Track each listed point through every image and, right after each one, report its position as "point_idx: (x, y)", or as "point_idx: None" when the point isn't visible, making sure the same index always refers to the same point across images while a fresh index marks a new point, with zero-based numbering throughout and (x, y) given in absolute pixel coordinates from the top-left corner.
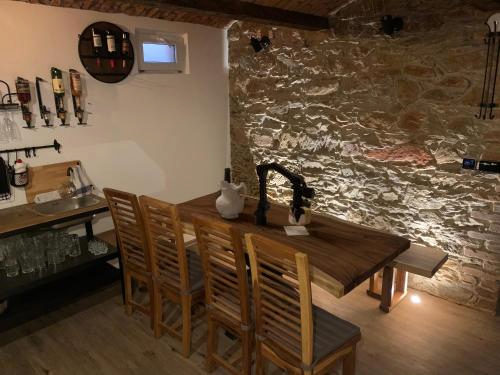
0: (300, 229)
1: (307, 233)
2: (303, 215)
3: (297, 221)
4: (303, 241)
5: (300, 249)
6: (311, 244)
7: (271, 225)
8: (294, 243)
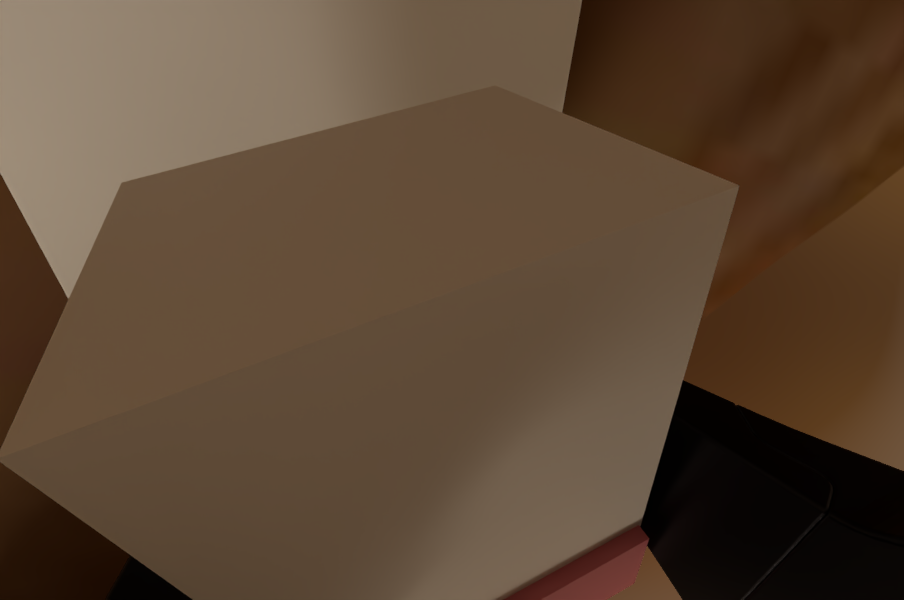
0: (285, 129)
1: (539, 4)
2: (590, 293)
3: None
4: (730, 152)
5: (841, 214)
6: (846, 54)
7: (93, 576)
8: (719, 263)
